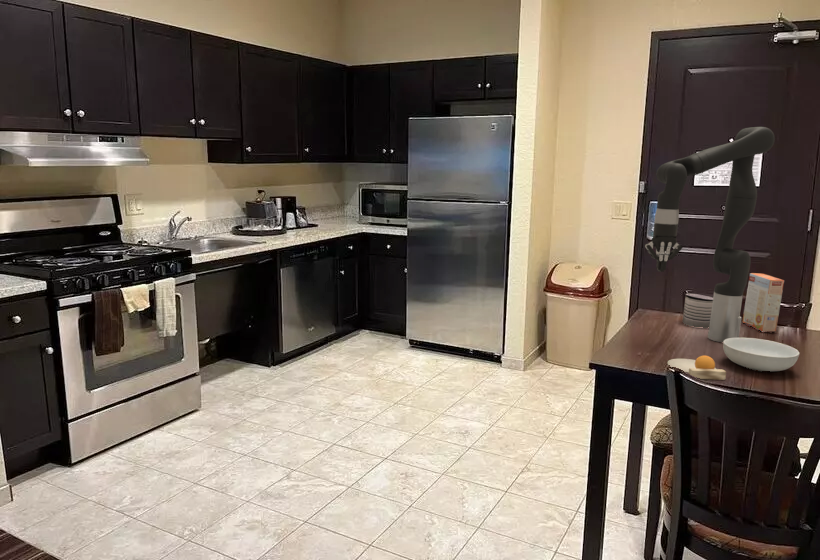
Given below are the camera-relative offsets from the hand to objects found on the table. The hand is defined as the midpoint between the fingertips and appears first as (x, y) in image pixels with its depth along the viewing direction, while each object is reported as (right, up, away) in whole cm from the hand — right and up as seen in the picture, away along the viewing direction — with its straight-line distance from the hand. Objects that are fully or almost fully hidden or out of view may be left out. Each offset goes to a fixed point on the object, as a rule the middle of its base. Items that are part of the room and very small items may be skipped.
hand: (660, 271), depth 211 cm
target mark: (0, -30, -23) cm, 38 cm away
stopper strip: (0, -32, -32) cm, 46 cm away
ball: (+1, -29, -29) cm, 41 cm away
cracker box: (+49, -22, +25) cm, 60 cm away
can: (+26, -21, +28) cm, 44 cm away
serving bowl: (+22, -31, -20) cm, 43 cm away
